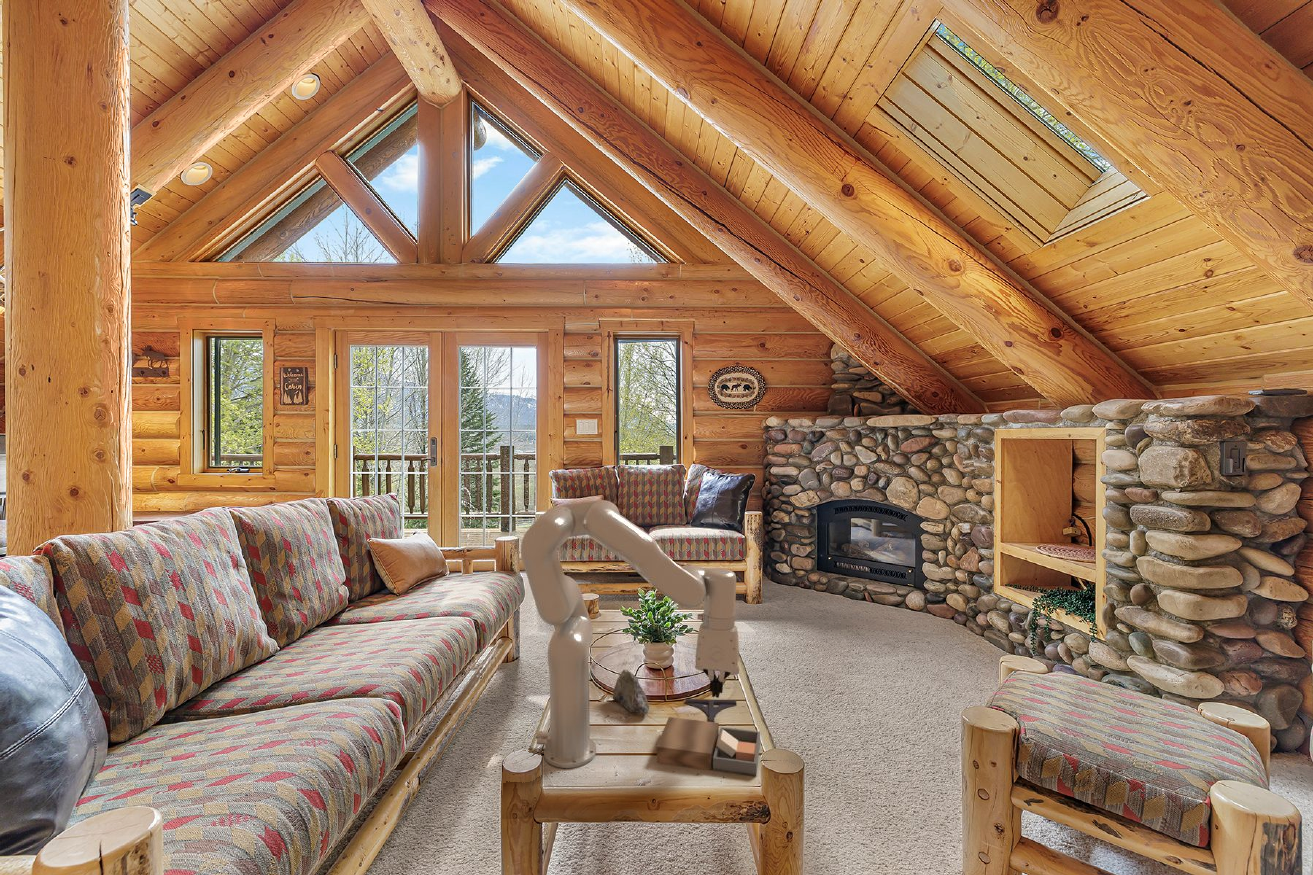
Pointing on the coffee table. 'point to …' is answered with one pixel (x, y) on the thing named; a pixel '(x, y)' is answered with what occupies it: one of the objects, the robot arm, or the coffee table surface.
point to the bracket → (711, 706)
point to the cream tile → (727, 743)
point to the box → (729, 763)
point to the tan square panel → (688, 743)
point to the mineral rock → (630, 693)
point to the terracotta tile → (745, 751)
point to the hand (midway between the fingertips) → (716, 694)
